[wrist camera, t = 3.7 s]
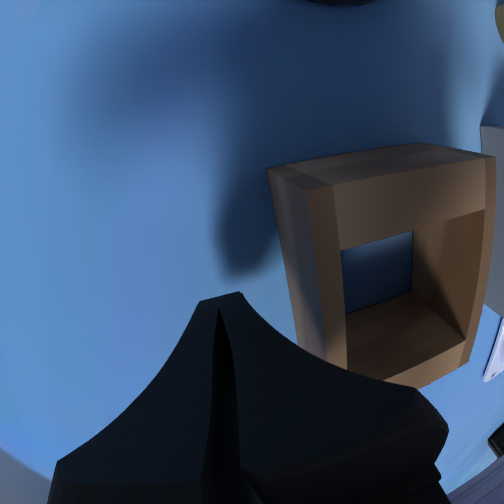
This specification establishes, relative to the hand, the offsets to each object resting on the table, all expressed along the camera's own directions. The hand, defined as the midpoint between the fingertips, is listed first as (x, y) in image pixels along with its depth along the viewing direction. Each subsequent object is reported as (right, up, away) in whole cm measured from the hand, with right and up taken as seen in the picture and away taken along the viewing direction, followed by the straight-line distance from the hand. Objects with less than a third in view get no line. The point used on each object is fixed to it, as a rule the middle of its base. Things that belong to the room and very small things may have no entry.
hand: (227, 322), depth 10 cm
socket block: (+5, +2, +2) cm, 6 cm away
